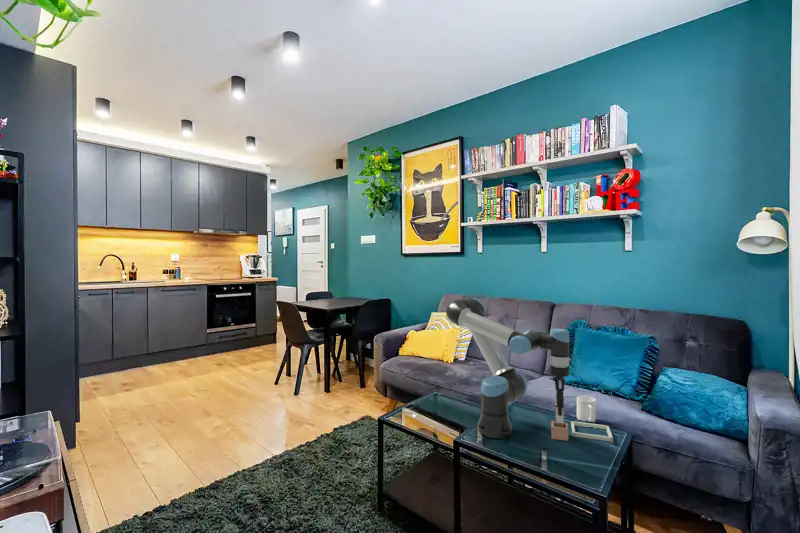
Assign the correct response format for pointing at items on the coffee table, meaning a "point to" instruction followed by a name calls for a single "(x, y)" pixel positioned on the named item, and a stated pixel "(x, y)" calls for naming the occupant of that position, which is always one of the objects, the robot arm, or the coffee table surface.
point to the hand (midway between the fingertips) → (559, 419)
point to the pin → (563, 417)
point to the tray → (591, 436)
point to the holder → (559, 431)
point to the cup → (586, 408)
